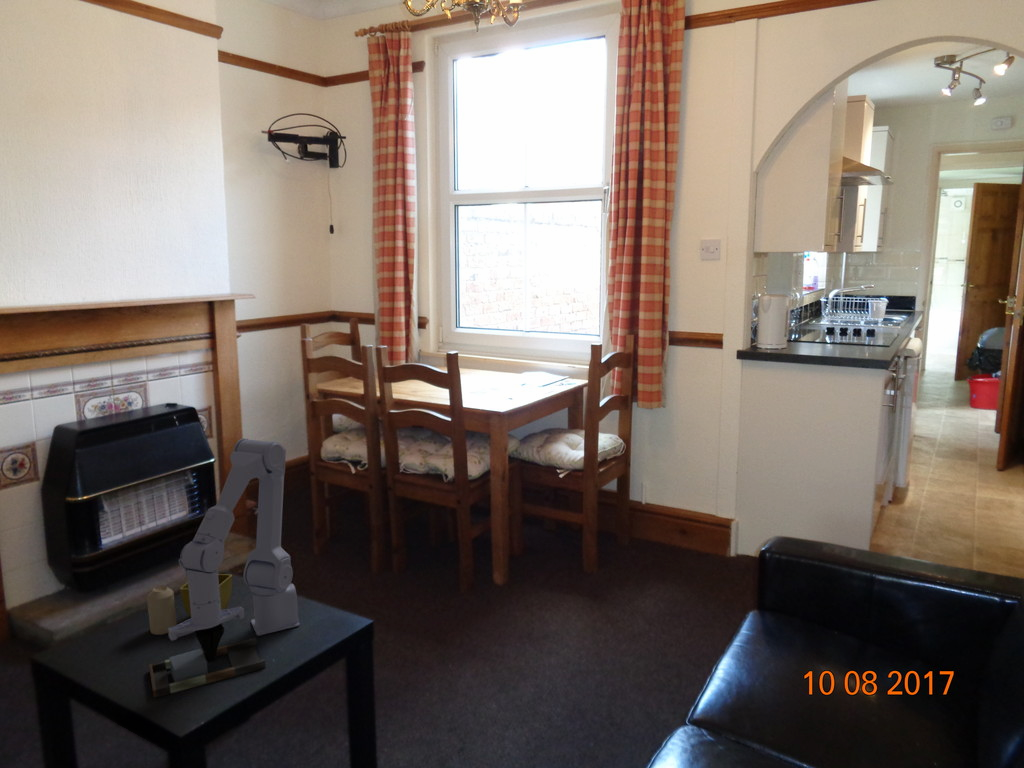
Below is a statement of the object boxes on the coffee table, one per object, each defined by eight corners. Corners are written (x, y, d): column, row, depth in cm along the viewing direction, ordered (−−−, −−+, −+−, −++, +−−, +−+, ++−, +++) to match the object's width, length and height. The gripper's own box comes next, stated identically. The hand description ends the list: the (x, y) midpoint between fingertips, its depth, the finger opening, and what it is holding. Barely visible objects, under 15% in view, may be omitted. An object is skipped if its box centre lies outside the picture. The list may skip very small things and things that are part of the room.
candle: (166, 636, 167) (162, 594, 165) (145, 633, 168) (140, 592, 166) (181, 624, 172) (178, 584, 171) (161, 622, 173) (157, 582, 172)
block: (201, 663, 156) (200, 648, 155) (207, 677, 151) (206, 661, 150) (171, 672, 152) (169, 657, 152) (176, 686, 147) (174, 670, 147)
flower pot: (201, 607, 181) (198, 572, 179) (235, 608, 180) (232, 573, 178) (182, 625, 172) (178, 588, 170) (217, 626, 171) (214, 590, 170)
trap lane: (255, 644, 163) (254, 637, 163) (265, 667, 153) (264, 661, 153) (149, 671, 153) (149, 664, 153) (153, 697, 143) (153, 690, 143)
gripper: (233, 581, 158) (238, 640, 161) (161, 602, 149) (167, 664, 152) (245, 593, 153) (250, 653, 155) (171, 615, 144) (177, 679, 146)
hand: (210, 659), depth 153 cm, fingers closed
